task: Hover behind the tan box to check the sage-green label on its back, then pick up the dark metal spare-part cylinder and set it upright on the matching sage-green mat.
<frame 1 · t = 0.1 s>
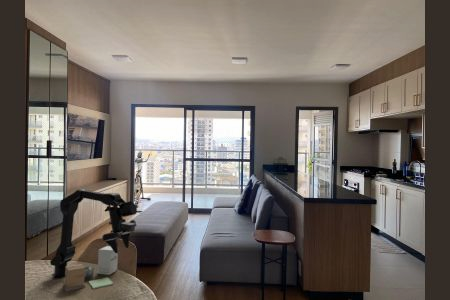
hand: (122, 250, 144), 15 cm above the table, tool pointing down, fingers open, 9 cm apart
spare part: (88, 277, 148), on the table
sage mat: (100, 283, 141), on the table
tan box: (74, 286, 137), on the table
supplement box: (107, 272, 157), on the table
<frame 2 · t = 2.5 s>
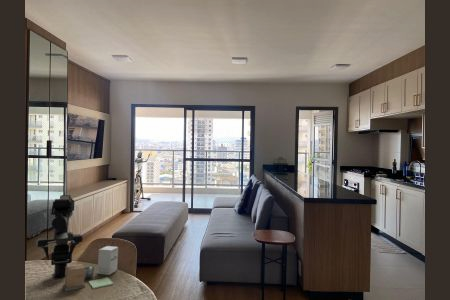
hand: (59, 258, 140), 12 cm above the table, tool pointing down, fingers open, 9 cm apart
nothing on the table moved.
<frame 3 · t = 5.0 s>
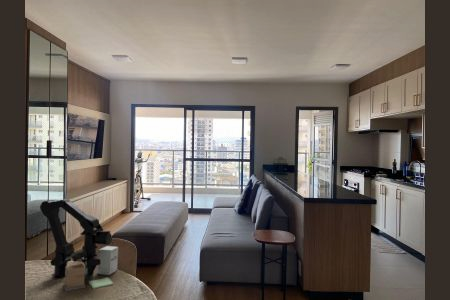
hand: (88, 275, 148), 1 cm above the table, tool pointing down, fingers closed on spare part, 4 cm apart
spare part: (88, 277, 148), on the table, touching gripper
everything else where it was.
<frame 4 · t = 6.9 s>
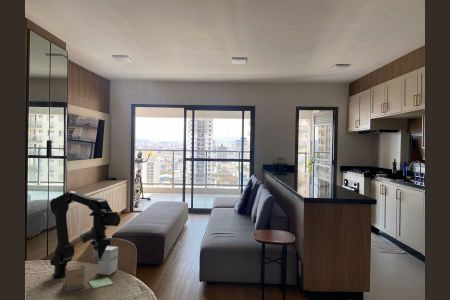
hand: (98, 257, 145), 12 cm above the table, tool pointing down, fingers closed on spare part, 4 cm apart
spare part: (98, 259, 145), point 10 cm above the table, touching gripper
everything else where it was.
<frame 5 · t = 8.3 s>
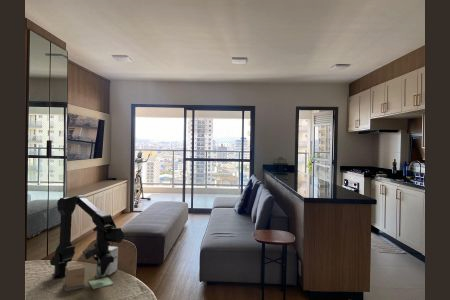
hand: (101, 273, 142), 5 cm above the table, tool pointing down, fingers closed on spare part, 4 cm apart
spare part: (101, 276, 142), point 4 cm above the table, touching gripper
everything else where it was.
when the fingers open (3 cm above the table, at t = 8.9 s): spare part drops 1 cm, resting on sage mat.
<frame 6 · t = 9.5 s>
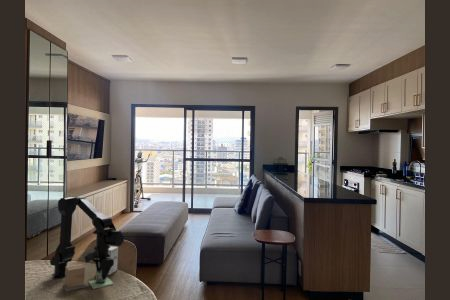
hand: (101, 276, 142), 3 cm above the table, tool pointing down, fingers open, 9 cm apart
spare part: (100, 282, 142), point 1 cm above the table, touching sage mat
everything else where it was.
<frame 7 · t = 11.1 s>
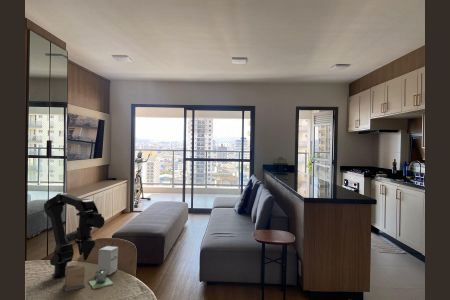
hand: (82, 257, 144), 11 cm above the table, tool pointing down, fingers open, 9 cm apart
nothing on the table moved.
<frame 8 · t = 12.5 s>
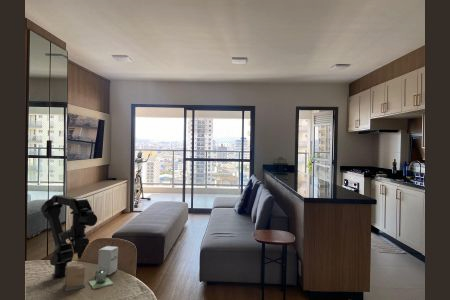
hand: (77, 255, 145), 12 cm above the table, tool pointing down, fingers open, 9 cm apart
nothing on the table moved.
at the end: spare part 0.1 cm off-centre on the sage mat, point 0.6 cm above the sage mat's base; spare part tilted 0°; the gripper is holding nothing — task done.
